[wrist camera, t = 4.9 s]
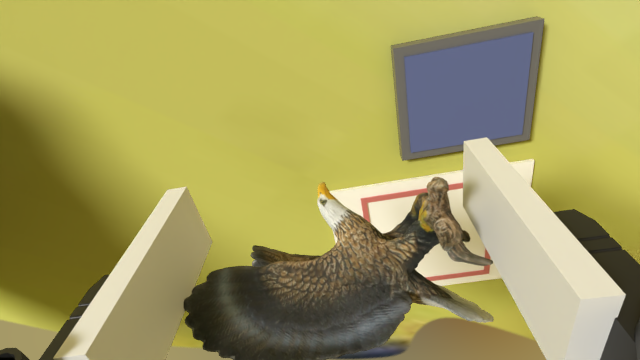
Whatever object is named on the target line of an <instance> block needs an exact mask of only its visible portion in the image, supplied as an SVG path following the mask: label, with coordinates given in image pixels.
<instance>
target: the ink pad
mask: <svg viewBox="0 0 640 360" xmlns="http://www.w3.org/2000/svg"><path fill="white" fill-rule="evenodd" d="M543 26H544V18H540V17H532V18H527V19H522V20H517V21H512V22H507V23H502V24H497V25H492V26H487V27H482V28H477V29H472V30H467V31H462V32H457V33H452V34H447V35H442V36H437V37H432V38H427V39H422V40H416V41H411V42H406V43H401V44H396V45H391V54H392V65H393V77H394V88H395V100H396V111H397V123H398V134H399V146H400V155H401V158H402V161H403V160H409V159H415V158H421V157H428V156H434V155H440V154H446V153H452V152H458V151H464V141H468V140H474V139H480V138H486V137H487V138H488V139H489V140H490V141H491V142H492V144H493V145H501V144H507V143H513V142H519V141H525V140H529V139H530V131H531V123H532V115H533V107H534V99H535V91H536V83H537V74H538V66H539V58H540V50H541V42H542V34H543Z"/></svg>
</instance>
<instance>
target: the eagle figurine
mask: <svg viewBox="0 0 640 360" xmlns="http://www.w3.org/2000/svg"><path fill="white" fill-rule="evenodd" d="M427 191H428V193H426V192H423V193H420V194H418V195H417V197H416V199H415V201H414V203H413V205H412V208H411V211H410V212H409V213H408V214H407V216H406V217H405V219H404V220H403V221H402V223H400V224H398V225H397V226H396V227H395V228H394V229H393V230H392V231H390V232H387V233H381V232H380V231H379V230H378V229H377V228H376V227H374V226H373V225H372V224H371V223H370V222H368V221H367V220H366V219H364V218H363V217H362V216H360V215H358V214H357V213H355V212H353V211H351V210H350V209H348V208H347V207H345V206H344V205H343V204H342V203H340V202H339V201H338V200H337V199H336V198H335V197H334V196H333V195H332V194H331V193H330V192H329V190H328V189H327V187H326V184H325V182H322V183H320V184H319V186H318V207H319V210H320V212H321V214H322V216H323V217H324V219H325V220H326V222H327V223H328V225H329V226H330V227H331V229H332V230H333V232H334V234H335V236H336V237H337V243H336V245H335V246H334V247H333V248H332V249H331V250H330V251H328V252H327V253H325V254H324V255H322V256H309V255H298V254H288V253H285V252H281V251H278V250H274V249H270V248H266V247H263V246H253V247H252V249H253V251H254V252H253V253H251V257H252V258H253V259H255V260H254V261H253V262H252V266H236V267H228V268H223V269H220V270H216V271H213V272H211V273H210V274H209V275H208V276H207V281H206V282H205V283H202V284H200V285H197V286H195V287H194V288H193V289H192V294H191V295H190V296H189V297H187V298H185V300H184V307H183V308H184V309H185V310H186V311H187V312H189V315H188V316H187V317H186V319H185V323H186V325H187V326H188V327H190V328H191V329H192V331H193V337H194V338H195V339H196V340H201V341H202V342H203V349H204V350H207V351H211V352H218V353H219V356H221V357H223V358H232V359H233V360H326V359H329V358H337V357H340V356H342V355H345V354H354V353H356V352H358V351H367V350H369V349H372V348H374V347H378V346H381V345H383V344H385V343H386V341H387V340H388V339H389V338H390V336H391V335H392V334H393V333H394V331H395V330H396V328H397V327H398V325H399V324H400V322H401V321H403V320H404V318H405V316H404V314H406V313H408V312H409V310H410V308H411V306H410V305H411V304H412V303H417V304H424V305H431V306H436V307H441V308H445V309H447V310H449V311H451V312H452V313H454V314H456V315H458V316H460V317H462V318H464V319H466V320H468V321H477V322H492V321H493V320H494V319H493V316H492V315H491V314H489V313H488V312H486V311H484V310H482V309H481V308H480V307H479V306H478V305H477V304H475V303H473V302H471V301H468V300H466V299H464V298H461V297H460V296H458V295H457V294H455V293H453V292H451V291H450V290H448V289H446V288H444V287H442V286H439V285H437V284H434V283H433V282H431V281H430V280H428V279H427V278H425V277H424V276H423V275H421V274H420V273H418V272H417V271H416V270H415V268H417V267H418V264H419V262H420V261H421V260H422V259H423V258H424V255H425V254H428V253H429V251H430V250H431V249H432V248H433V247H434V246H435V245H438V244H439V243H440V245H441V247H442V249H443V250H444V251H447V253H448V255H449V257H450V258H451V259H452V260H453V261H455V262H465V263H468V264H473V265H478V266H487V265H491V264H493V261H492V260H490V259H487V258H484V257H481V256H478V255H475V254H473V253H471V252H470V251H469V250H468V249H467V248H466V246H465V244H464V243H463V242H469V241H470V236H469V233H468V232H466V231H465V230H462V228H461V226H460V224H459V223H458V222H457V220H456V219H455V218H454V216H453V215H452V213H451V208H450V203H449V198H448V194H447V192H448V191H449V185H448V183H447V181H446V180H445V179H443V178H440V177H434V178H432V180H431V182H429V183H428V184H427Z"/></svg>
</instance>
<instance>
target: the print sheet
mask: <svg viewBox="0 0 640 360" xmlns="http://www.w3.org/2000/svg"><path fill="white" fill-rule="evenodd" d="M510 164H511V165H512V166H513V167H514V168H515V170H516V171H517V172H518V173H519V174H520V175H521V176H522V178H523V179H524V180H525V181H526V182H527V183H528V184H529V185H530V187H531V182H532V175H533V168H534V160H533V159H529V160H522V161H516V162H510ZM434 177H440V178H443V179H445V180H446V181H447V183H448V185H449V191H448V192H447V194H448V198H449V203H450V208H451V213H452V215H453V216H454V218H455V219H456V220H457V222H458V223H459V224H460V226H461V228H462V230H465V231H466V232H468V233H469V236H470V241H469V242H463V243H464V244H465V246H466V248H467V249H468V250H469V251H470V252H471V253H473V254H475V255H478V256H481V257H484V258H487V259H490V260H492V259H491V257H490V255H489V253H488V251H487V250H486V248H485V246H484V244H483V242H482V240H481V238H480V237H479V235H478V233H477V231H476V229H475V227H474V226H473V224H472V222H471V220H470V218H469V216H468V215H467V213H466V211H465V209H464V207H463V170H459V171H453V172H447V173H440V174H434V175H428V176H422V177H415V178H409V179H403V180H396V181H390V182H384V183H378V184H371V185H365V186H359V187H352V188H346V189H340V190H334V191H329V192H330V193H331V194H332V195H333V196H334V197H335V198H336V199H337V200H338V201H339V202H340V203H342V204H343V205H344V206H345V207H347V208H348V209H350V210H351V211H353V212H355V213H357V214H358V215H360V216H362V217H363V218H364V219H366V220H367V221H368V222H370V223H371V224H372V225H373V226H374V227H376V228H377V229H378V230H379V231H380V232H381V233H387V232H390V231H392V230H393V229H394V228H395V227H396V226H397V225H398V224H400V223H402V221H403V220H404V219H405V217H406V216H407V214H408V213H409V212H410V211H411V208H412V205H413V203H414V201H415V199H416V197H417V195H418V194H420V193H423V192H426V193H428V191H427V184H428V183H429V182H431V180H432V178H434ZM333 233H334V232H333ZM334 238H335V242H336V243H337V237H336V236H335V234H334ZM415 270H416V271H417V272H418V273H420V274H421V275H423V276H424V277H425V278H427V279H428V280H430V281H431V282H433V283H434V284H437V285H439V286H444V285H452V284H459V283H467V282H475V281H483V280H491V279H499V278H502V277H501V275H500V273H499V272H498V270H497V268H496V266H495V264H494V262H493V264H491V265H487V266H478V265H473V264H468V263H465V262H455V261H453V260H452V259H451V258H450V257H449V255H448V253H447V251H444V250H443V249H442V247H441V245H440V243H439V244H438V245H435V246H434V247H433V248H432V249H431V250H430V251H429V253H428V254H425V255H424V258H423V259H422V260H421V261H420V262H419V264H418V267H417V268H415Z"/></svg>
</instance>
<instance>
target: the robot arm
mask: <svg viewBox="0 0 640 360" xmlns="http://www.w3.org/2000/svg"><path fill="white" fill-rule="evenodd" d="M463 207H464V209H465V211H466V213H467V215H468V216H469V218H470V220H471V222H472V224H473V226H474V227H475V229H476V231H477V233H478V235H479V237H480V238H481V240H482V242H483V244H484V246H485V248H486V250H487V251H488V253H489V255H490V257H491V259H492V261H493V262H494V264H495V266H496V268H497V270H498V272H499V273H500V275H501V277H502V279H503V281H504V283H505V284H506V286H507V288H508V290H509V292H510V294H511V295H512V297H513V299H514V301H515V303H516V305H517V307H518V308H519V310H520V312H521V314H522V316H523V318H524V319H525V321H526V323H527V325H528V327H529V329H530V330H531V332H532V334H533V336H534V338H535V340H536V341H537V343H538V345H539V347H540V349H541V351H542V352H543V354H544V356H545V358H546V360H640V265H639V264H638V263H637V262H636V261H635V260H634V259H633V258H632V257H631V256H630V255H629V254H628V253H627V252H626V251H625V250H622V248H621V246H620V245H619V244H618V243H617V242H616V241H615V240H614V239H613V238H610V236H609V234H608V233H607V232H606V231H605V230H604V229H603V228H602V227H601V226H600V225H599V224H598V223H597V222H596V221H595V220H593V219H591V218H589V217H588V216H586V215H584V214H582V213H580V212H578V211H576V210H574V209H573V210H566V211H558V212H552V210H551V209H550V208H549V207H548V206H547V205H546V204H545V202H544V201H543V200H542V199H541V198H540V197H539V196H538V195H537V193H536V192H535V191H534V190H533V189H532V188H531V187H530V185H529V184H528V183H527V182H526V181H525V180H524V179H523V178H522V176H521V175H520V174H519V173H518V172H517V171H516V170H515V168H514V167H513V166H512V165H511V164H510V163H509V162H508V161H507V159H506V158H505V157H504V156H503V155H502V154H501V153H500V151H499V150H498V149H497V148H496V147H495V146H494V145H493V144H492V142H491V141H490V140H489V139H488V138H487V137H486V138H480V139H474V140H468V141H464V154H463ZM211 244H212V240H211V238H210V236H209V234H208V232H207V229H206V227H205V225H204V223H203V221H202V219H201V217H200V214H199V212H198V210H197V208H196V206H195V204H194V202H193V199H192V197H191V195H190V193H189V191H188V189H187V187H182V188H176V189H170V190H167V191H166V193H165V194H164V196H163V197H162V198H161V200H160V201H159V203H158V204H157V206H156V207H155V209H154V210H153V212H152V213H151V215H150V216H149V218H148V219H147V221H146V222H145V224H144V225H143V226H142V228H141V229H140V231H139V232H138V234H137V235H136V237H135V238H134V240H133V241H132V243H131V244H130V246H129V247H128V249H127V250H126V252H125V253H124V254H123V256H122V257H121V259H120V260H119V262H118V263H117V265H116V266H115V268H114V269H113V271H112V272H111V274H110V275H104V276H103V277H102V278H101V279H100V280H99V281H98V282H97V283H96V284H94V285H93V286H92V287H91V288H90V289H89V290H88V292H87V293H86V294H85V296H84V297H83V299H82V300H81V301H80V303H79V304H78V305H79V307H76V309H75V310H74V311H73V313H72V314H71V316H70V320H67V321H66V323H65V324H64V325H63V327H62V328H61V330H60V331H59V332H58V334H57V335H56V337H55V338H54V339H53V341H52V342H51V344H50V345H49V347H48V348H47V349H46V351H45V352H44V354H43V355H42V357H41V358H40V359H39V360H166V357H167V355H168V352H169V350H170V347H171V345H172V342H173V340H174V337H175V335H176V332H177V330H178V327H179V325H180V322H181V320H182V317H183V315H184V312H185V309H184V308H183V307H184V300H185V298H187V297H189V296H190V295H191V294H192V289H193V288H194V287H195V284H196V282H197V279H198V277H199V274H200V272H201V269H202V267H203V264H204V262H205V259H206V257H207V254H208V252H209V249H210V247H211ZM0 360H29V359H28V358H27V357H26V356H25V355H24V354H23V353H22V352H21V351H19V350H18V349H17V348H6V349H3V350H0Z"/></svg>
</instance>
